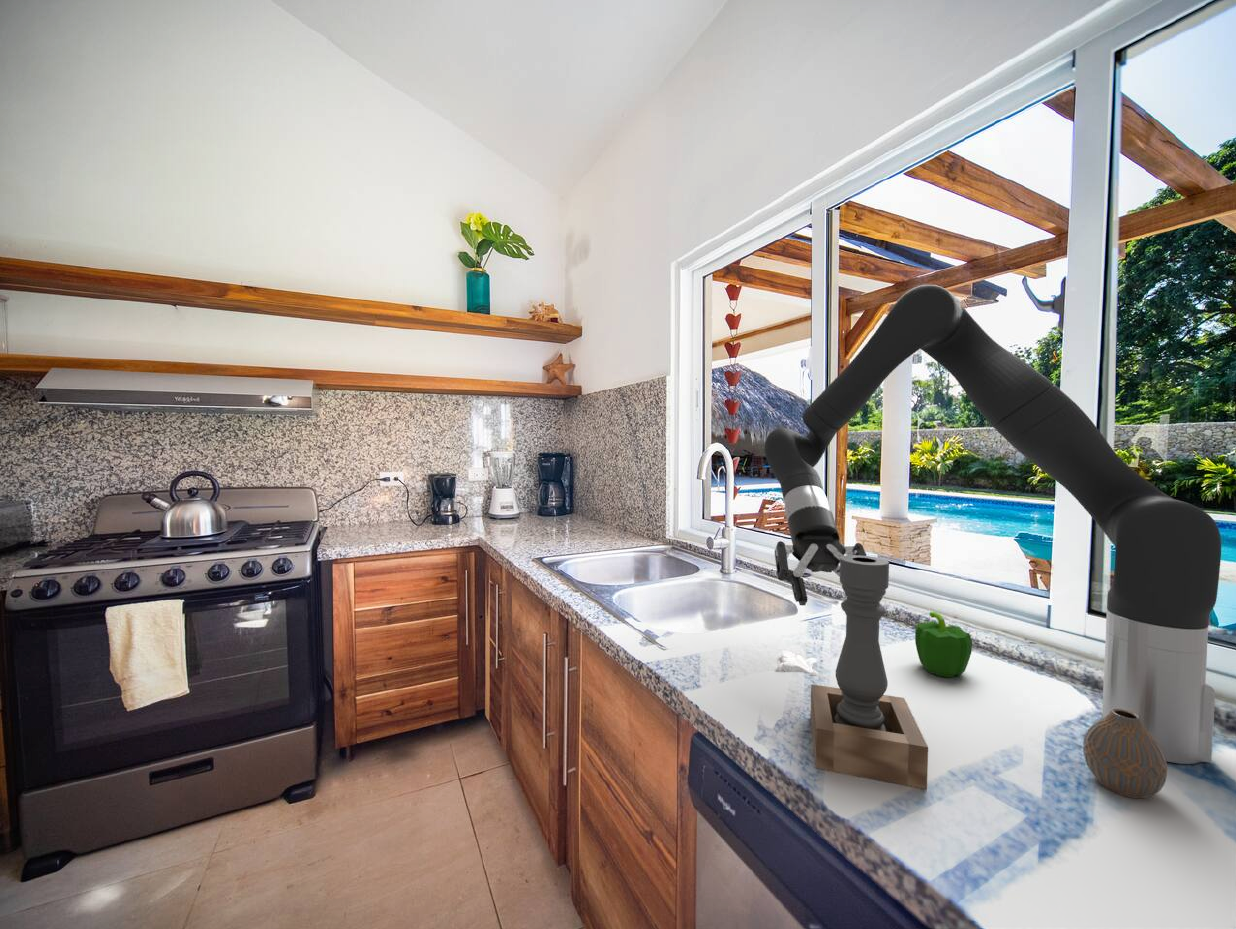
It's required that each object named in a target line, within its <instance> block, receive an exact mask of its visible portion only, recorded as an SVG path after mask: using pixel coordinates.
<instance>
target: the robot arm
mask: <svg viewBox="0 0 1236 929" xmlns="http://www.w3.org/2000/svg"><path fill="white" fill-rule="evenodd" d="M919 350H922V352H924V353H925V354H926V355H928V356H929V357H931V359H933V360H934V361H935V362H937V363H938V364H939V365H940V366H941V367H943V368H944V369H945V370H946V371H948V372H949V373H950V375H951V376H952V377H953V378H954V379H955V380H956V381H957V383H958V384H959V385H960V387H961V388H962V391H964V393H965V395H966V396H967V397H968V398H969V400H970V401H971V403H972V404H973V405H974V407H975V408H976V409H977V410H978V412H979V414H981V416H982V417H983V418H984V419H985V420H986V421H987V422H988V423H989V424H990V425H991V427H993V429H994V430H996V431H997V432H998V434H999V435H1000V436H1002V437H1003V438H1004V439H1005V440H1006V441H1007V442H1008V443H1009V444H1010V445H1011V446H1012V447H1014V449H1016V450H1017V451H1018V452H1019V453H1020V454H1022V456H1024V457H1025V458H1026V459H1028V460H1029V461H1030V462H1031V463H1032V464H1033V465H1035V466H1036V467H1037V468H1038V469H1040V470H1041V471H1042V472H1044V473H1045V474H1046V475H1048V476H1049V477H1051V478H1052V479H1053V480H1055V481H1056V482H1057V483H1058V484H1060V485H1061V486H1062V487H1063V488H1065V490H1066V491H1068V492H1069V493H1070V494H1071V495H1072V496H1073V497H1074V498H1075V500H1077V502H1078V503H1079V504H1080V505H1081V506H1082V507H1083V509H1084V510H1085V511H1086V512H1087V513H1088V514H1089V516H1090V517H1091V518H1092V520H1094V521H1095V523H1096V524H1097V525H1098V526H1099V528H1100V529H1101V530H1102V531H1103V532H1104V534H1105V535H1106V537H1107V538H1108V539H1109V541H1110V542H1111V543H1112V544H1113V546H1114V547H1115V550H1114V552H1115V554H1114V568H1113V569H1114V571H1113V579H1112V585H1111V587H1110V588H1109V589H1108V591H1107V599H1106V604H1107V605H1106V620H1105V622H1106V623H1105V642H1104V643H1105V645H1104V664H1103V666H1104V667H1103V668H1104V669H1103V684H1102V685H1103V686H1102V687H1103V689H1102V708H1101V710H1102V711H1101V719H1102V718H1104V717H1105V716H1107V715H1108V714H1109V712H1110V711H1111V710H1112V709H1122V710H1126V711H1129V712H1132V713H1134V714H1136V715H1138V716H1139V717H1140V719H1141V721H1142V723H1143V725H1144V726H1145V728H1146V729H1147V730H1148V731H1149V733H1150V734H1151V735H1152V736H1153V737H1154V739H1155V740H1156V741H1157V742H1158V744H1159V745H1160V747H1161V749H1162V751H1163V753H1164V756H1165V759H1166V763H1167V762H1168V763H1175V764H1181V765H1182V764H1183V765H1194V764H1198V763H1212V758H1213V738H1214V722H1215V720H1214V718H1215V706H1216V705H1215V702H1216V700H1215V699H1216V690H1215V689H1214V687H1213V686H1211V685H1209V684H1208V683H1206V679H1207V678H1206V677H1207V662H1208V661H1207V659H1208V640H1209V638H1208V637H1209V636H1208V635H1209V624H1210V623H1209V620H1210V619H1209V618H1210V615H1211V613H1212V611H1213V609H1214V608H1215V605H1216V603H1217V599H1218V598H1217V597H1218V590H1219V583H1220V582H1219V580H1220V572H1221V571H1220V570H1221V562H1222V561H1221V558H1222V538H1221V532H1220V529H1219V527H1218V525H1217V523H1216V522H1215V520H1214V518H1212V516H1211V515H1210V514H1209V513H1207V512H1206V511H1204V510H1203V509H1202V508H1200V507H1198V506H1196V505H1193V504H1192V503H1189V502H1187V501H1186V502H1185V501H1183V500H1182V501H1181V500H1178V499H1174V497H1173V498H1172V497H1171V496H1169V495H1168V494H1166V493H1164V492H1163V491H1162V490H1161V489H1159V488H1158V487H1156V486H1155V484H1154V485H1153V484H1152V483H1151V482H1150V481H1148V480H1147V479H1146V478H1144V476H1142V475H1140V474H1139V473H1138V472H1137V471H1135V469H1133V468H1132V467H1131V466H1129V465H1128V464H1127V463H1126V462H1125V461H1124V460H1123V459H1121V457H1120V456H1119V455H1118V454H1117V453H1116V452H1115V451H1114V449H1113V448H1112V446H1111V445H1110V444H1109V442H1108V441H1107V439H1105V437H1104V435H1103V434H1102V433H1101V431H1100V430H1099V429H1098V427H1097V425H1095V424H1094V422H1093V421H1092V420H1091V419H1090V417H1089V416H1088V415H1087V414H1086V412H1084V410H1082V408H1081V407H1080V406H1079V405H1078V404H1077V403H1076V402H1075V401H1073V400H1072V399H1071V398H1070V396H1068V395H1067V394H1066V393H1064V391H1062V390H1061V389H1060V387H1058V386H1057V385H1055V383H1054V382H1052V381H1051V380H1050V379H1048V378H1047V377H1046V376H1045V375H1044V374H1042V373H1041V372H1039V371H1038V370H1036V368H1034V367H1032V366H1031V365H1030V364H1029V363H1027V362H1026V361H1024V360H1023V359H1021V358H1020V357H1018V356H1017V355H1015V354H1014V353H1011V352H1010V351H1009V350H1007V349H1006V348H1004V347H1003V346H1002V345H1000V344H998V342H997V341H995V339H993V337H991V336H990V335H989V334H988V333H987V332H986V331H985V330H984V329H983V328H982V327H981V326H980V324H978V323H977V321H976V320H975V319H974V318H973V317H972V316H971V314H970V313H969V312H968V311H967V310H966V308H965V307H964V306H963V304H962V303H961V301H960V300H959V299H958V298H957V297H956V295H955V294H953V293H952V292H950V291H949V290H947V289H946V288H944V287H943V286H940V285H936V284H922V285H919V286H916V287H913V288H911V289H909V290H907V291H906V292H905V293H903V294H902V295H901V296H900V297H899V299H898V300H897V301H896V302H895V303H894V305H893V306H892V307H891V310H889V312H888V313H887V315H886V316H885V317H884V319H883V320H882V322H881V324H879V326H878V327H877V329H876V330H875V332H874V333H873V334H872V336H871V337H870V339H869V340H868V341H867V343H866V344H865V345H864V346H863V348H862V349H861V350H860V351H859V352H858V354H856V356H855V357H854V358H853V359H852V360H851V362H850V363H849V364H847V366H846V367H845V368H844V369H843V370H842V372H840V373H839V375H837V377H835V379H834V380H833V381H832V382H831V383H830V384H828V386H827V387H825V389H824V390H823V391H822V392H821V393H820V394H819V395H818V397H816V398H815V399H814V400H813V402H812V403H811V404H810V405H808V407H806V409H805V410H804V411H803V413H802V416H801V418H802V421H803V424H804V425H805V426H806V427H807V429H809V431H808V434H806V436H804V435H802V434H801V433H799V432H797V431H795V430H793V429H791V428H787V427H777V428H775V429H773V430H772V431H771V432H769V433H768V435H767V437H766V439H765V442H764V449H763V450H764V455H765V459H766V461H767V464H768V465H769V468H770V469H771V471H772V473H773V475H774V477H775V478H776V481H778V483H779V485H780V487H781V488H780V489H781V494H782V498H783V502H784V513H785V519H786V522H787V526H788V531H789V535H790V539H791V544H785V542H783V540H782V541H781V540H780V541H778V542H776V543H777V544H776V545H775V546H776V547H775V548H774V558H775V565H776V566H775V567H776V574H777V579H778V580H779V581H781V582H783V581H786V582H789V583H790V585H791V588H792V592H793V593H792V594H793V597H794V598H793V599H794V601H795V602H798V603H799V606H806V604H807V602H808V594H807V589H806V585H805V582H804V578H803V575H804V574H805V572H806V571H807V570H809V571H811V573H818V572H823V573H832V572H833V573H834V574H835V575H836V576H838V577H839V578H840V557H842V556H847V555H861V556H868V555H867V553H866V550H865V548H864V545H863V544H862V543H860V542H857V543H855V544H854V545H852V546H848V545H847V546H845V545H844V544H843V543H842V542H841V539H840V535H839V534H840V533H839V531H838V527H837V524H836V521H835V517H834V514H833V512H832V508H831V505H830V502H829V500H828V497H827V496H826V493H825V490H824V487H823V485H822V484H823V483H822V481H821V478H820V475H819V473H818V471H817V470H816V469H815V467H816V465H818V463H819V462H820V460H821V458H822V457H823V455H824V453H825V452H826V451H827V449H828V447H829V446H830V444H831V442H832V440H833V438H834V437H835V436H836V434H837V433H838V432H839V431H840V430H842V428H843V427H844V426H846V425H847V424H848V423H849V422H850V421H851V420H852V419H853V418H854V417H855V416H856V415H857V414H858V413H859V412H860V410H862V409H863V407H865V405H866V404H867V403H868V401H869V400H870V399H871V397H872V396H873V395H874V394H875V392H876V391H877V390H878V388H879V387H880V386H881V385H882V383H883V382H884V381H885V380H886V379H887V378H888V377H889V375H891V373H892V372H893V371H895V370H896V369H897V368H898V367H899V366H900V365H901V364H902V363H903V362H904V361H905V360H907V359H908V358H910V357H911V356H912V355H914V354H915V353H917V352H918V351H919ZM790 554H791V555H792V556H793V557H794V558H795V559H796V560H798V561H799V562H798V564H797V565H796V567H795V569H794V570H791V569H789V562H788V558H789V557H790Z"/></svg>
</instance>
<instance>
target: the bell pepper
mask: <svg viewBox="0 0 1236 929" xmlns="http://www.w3.org/2000/svg"><path fill="white" fill-rule="evenodd" d="M928 614H929V616H930V617H931V618H935V619H936V620H937V621H938V622H936V621H933V620H931V621H928V622H917V625H915V632H914V635H915V636H914V639H915V641H914V642H915V647H916V652H917V655H918V659H919V662H920V664H921V665H922V666H923V667H924V668H925V669H926V671H927V672H929V673H930V672H931V674H933V675H935V674H936V676H938V675H939V676H940V677H944V678H945V677H946V678H952V677H955V676H959V675H962V674H963V673H964V672H965V671H966V670H967V666H968V664H969V661H970V658H971V655H972V651H973V638H972V637H971V635H970V633H969V632H966V631H964V629H963V628H961V626H958V625H948V626H947V625H946V621H945V619H944V618H943V616H942V614H939V612H936V611H930V612H929V613H928Z"/></svg>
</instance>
